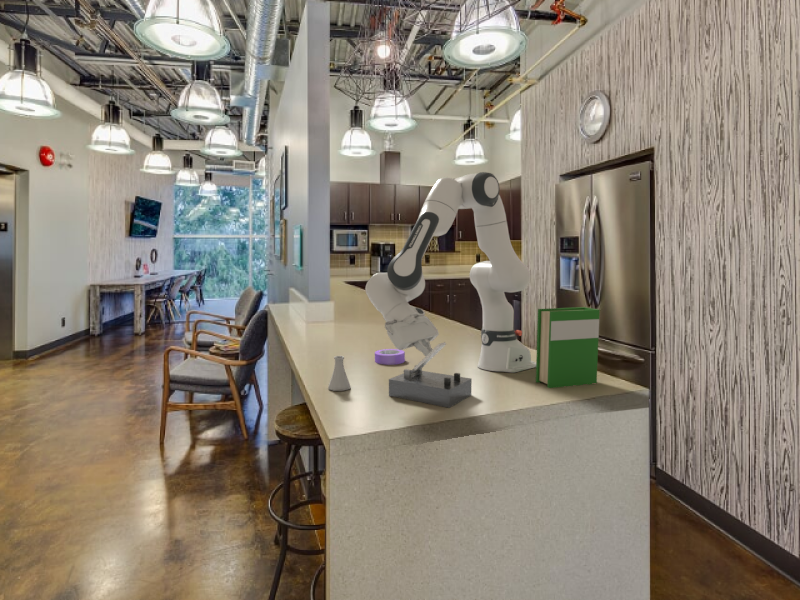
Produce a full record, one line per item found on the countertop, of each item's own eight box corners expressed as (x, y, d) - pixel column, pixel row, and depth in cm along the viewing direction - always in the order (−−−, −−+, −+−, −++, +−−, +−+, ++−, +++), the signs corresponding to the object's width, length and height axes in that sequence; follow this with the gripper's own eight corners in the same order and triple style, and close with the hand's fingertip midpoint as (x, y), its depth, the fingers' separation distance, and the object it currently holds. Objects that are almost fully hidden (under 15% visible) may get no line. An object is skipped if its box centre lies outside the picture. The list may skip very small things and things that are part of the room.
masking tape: (378, 366, 179) (378, 355, 178) (371, 359, 190) (371, 349, 189) (408, 363, 182) (408, 354, 182) (399, 357, 193) (399, 348, 193)
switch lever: (409, 377, 142) (406, 373, 143) (416, 374, 145) (413, 371, 146) (440, 347, 135) (437, 343, 136) (447, 344, 139) (444, 341, 139)
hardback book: (549, 388, 149) (551, 311, 146) (535, 381, 156) (537, 308, 153) (596, 383, 154) (599, 309, 151) (581, 377, 161) (584, 307, 159)
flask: (332, 393, 144) (331, 360, 143) (324, 387, 150) (324, 355, 149) (354, 389, 147) (354, 357, 146) (346, 384, 153) (345, 353, 152)
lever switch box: (388, 395, 141) (388, 370, 140) (413, 384, 152) (414, 361, 152) (449, 407, 130) (449, 380, 129) (471, 395, 141) (471, 370, 141)
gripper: (388, 315, 134) (418, 353, 130) (425, 308, 151) (452, 342, 147) (375, 329, 137) (404, 367, 133) (413, 321, 154) (439, 354, 150)
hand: (430, 354), depth 140 cm, fingers closed, pressing on switch lever
